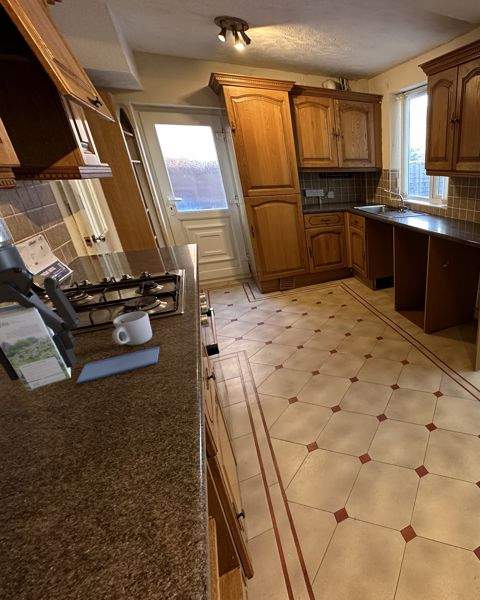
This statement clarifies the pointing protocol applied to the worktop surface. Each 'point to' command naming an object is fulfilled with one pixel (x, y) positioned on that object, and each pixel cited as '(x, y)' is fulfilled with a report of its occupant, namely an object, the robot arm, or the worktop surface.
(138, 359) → the cloth
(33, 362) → the syrup box
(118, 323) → the cup
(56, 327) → the robot arm
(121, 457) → the worktop surface
